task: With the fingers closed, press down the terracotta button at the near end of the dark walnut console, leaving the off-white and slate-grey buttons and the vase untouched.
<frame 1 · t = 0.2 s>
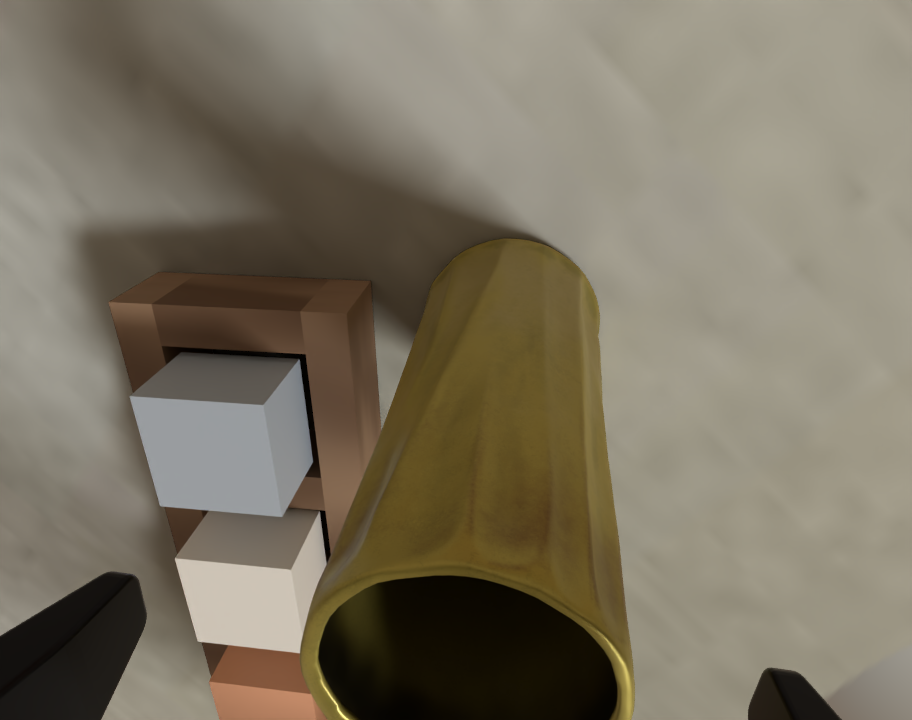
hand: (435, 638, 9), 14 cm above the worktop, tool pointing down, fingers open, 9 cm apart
vase: (511, 318, 22), on the worktop
offwhite button: (259, 575, 24), point 4 cm above the worktop, slide at 0.0 cm
console: (297, 505, 27), on the worktop
slategrey button: (230, 432, 21), point 4 cm above the worktop, slide at 0.0 cm
terracotta button: (281, 687, 27), point 4 cm above the worktop, slide at 0.0 cm
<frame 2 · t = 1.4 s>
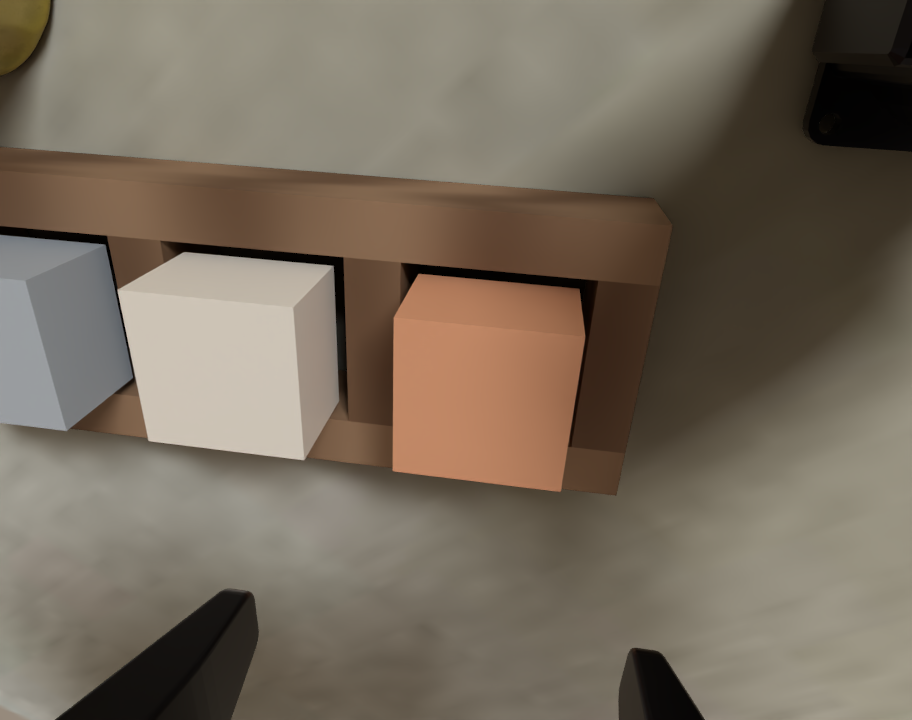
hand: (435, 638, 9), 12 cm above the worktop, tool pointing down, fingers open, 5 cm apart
offwhite button: (242, 352, 17), point 4 cm above the worktop, slide at 0.0 cm
console: (297, 297, 20), on the worktop
slategrey button: (14, 328, 17), point 4 cm above the worktop, slide at 0.0 cm
terracotta button: (487, 378, 16), point 4 cm above the worktop, slide at 0.0 cm
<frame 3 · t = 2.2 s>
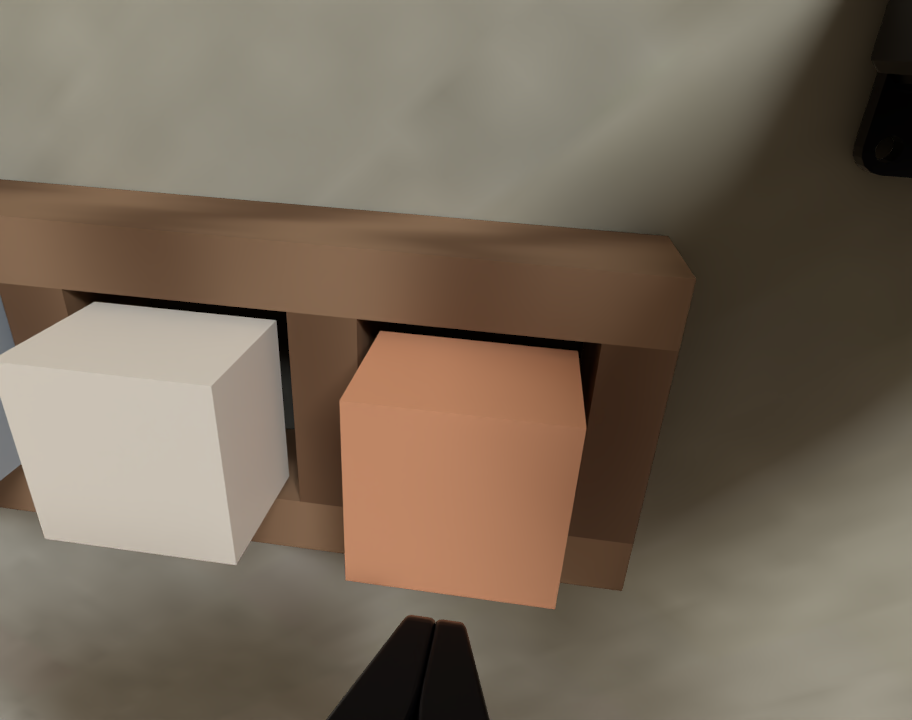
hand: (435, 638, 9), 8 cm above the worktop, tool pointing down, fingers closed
offwhite button: (162, 427, 13), point 4 cm above the worktop, slide at 0.0 cm
console: (244, 346, 17), on the worktop
terracotta button: (463, 463, 13), point 4 cm above the worktop, slide at 0.0 cm
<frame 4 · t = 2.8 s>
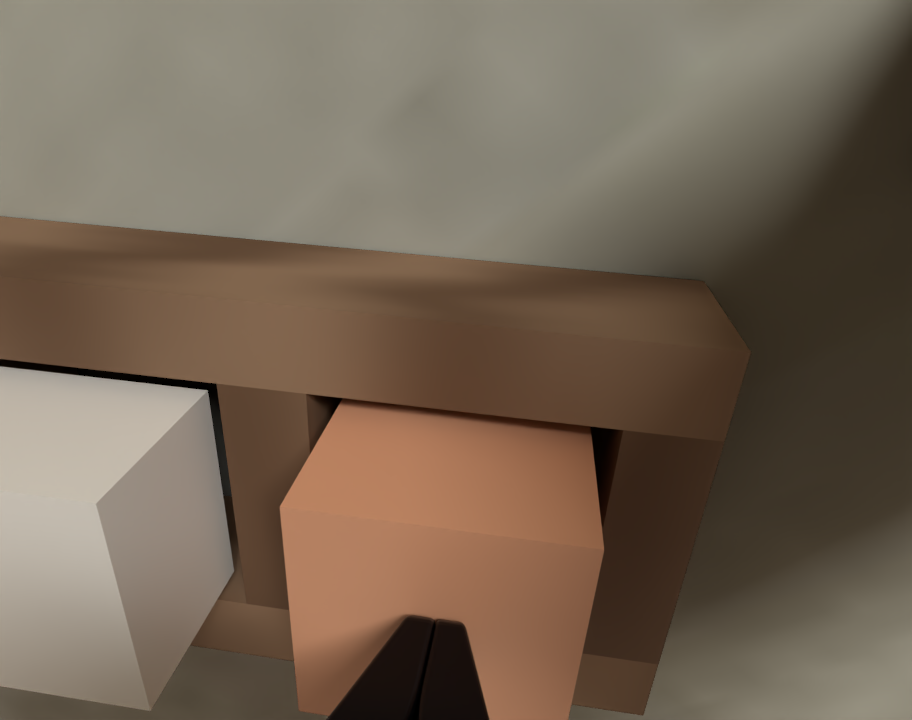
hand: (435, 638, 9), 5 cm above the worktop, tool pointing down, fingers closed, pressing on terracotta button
offwhite button: (61, 528, 11), point 4 cm above the worktop, slide at 0.0 cm
console: (186, 404, 14), on the worktop
terracotta button: (447, 563, 10), point 4 cm above the worktop, slide at 0.4 cm, touching gripper
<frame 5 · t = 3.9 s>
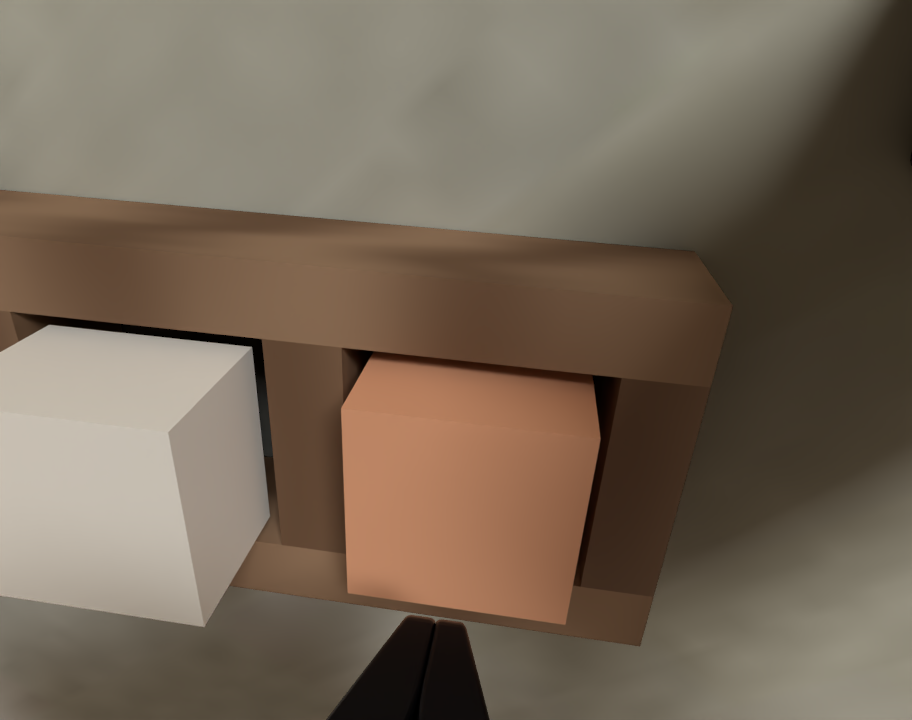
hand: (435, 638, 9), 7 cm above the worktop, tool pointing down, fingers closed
offwhite button: (123, 468, 12), point 4 cm above the worktop, slide at 0.0 cm
console: (222, 369, 16), on the worktop
terracotta button: (470, 472, 12), point 3 cm above the worktop, slide at 1.2 cm
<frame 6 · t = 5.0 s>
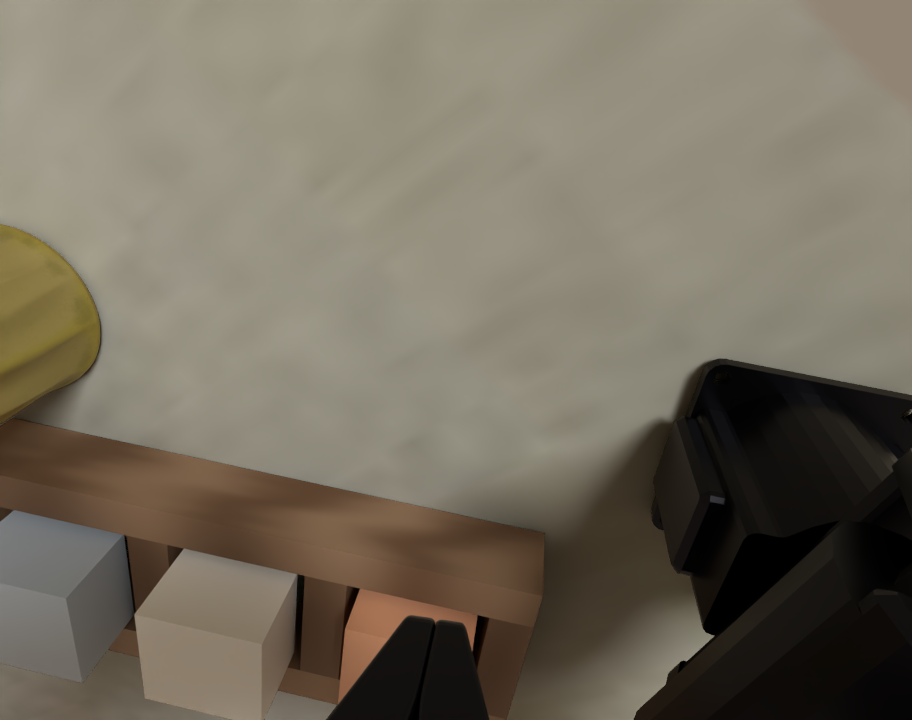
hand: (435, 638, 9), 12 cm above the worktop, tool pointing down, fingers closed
vase: (26, 304, 22), on the worktop
offwhite button: (222, 635, 22), point 4 cm above the worktop, slide at 0.0 cm
console: (269, 552, 26), on the worktop
slategrey button: (48, 594, 22), point 4 cm above the worktop, slide at 0.0 cm
terracotta button: (410, 647, 23), point 3 cm above the worktop, slide at 1.2 cm
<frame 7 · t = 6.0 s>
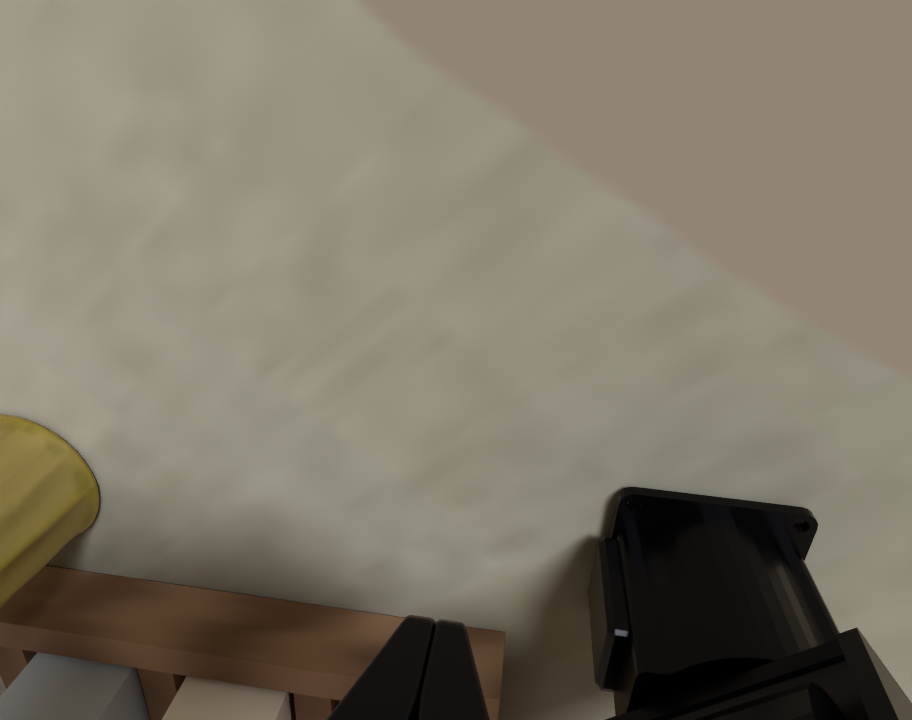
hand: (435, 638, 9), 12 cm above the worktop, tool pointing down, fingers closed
vase: (33, 472, 26), on the worktop
console: (267, 659, 29), on the worktop
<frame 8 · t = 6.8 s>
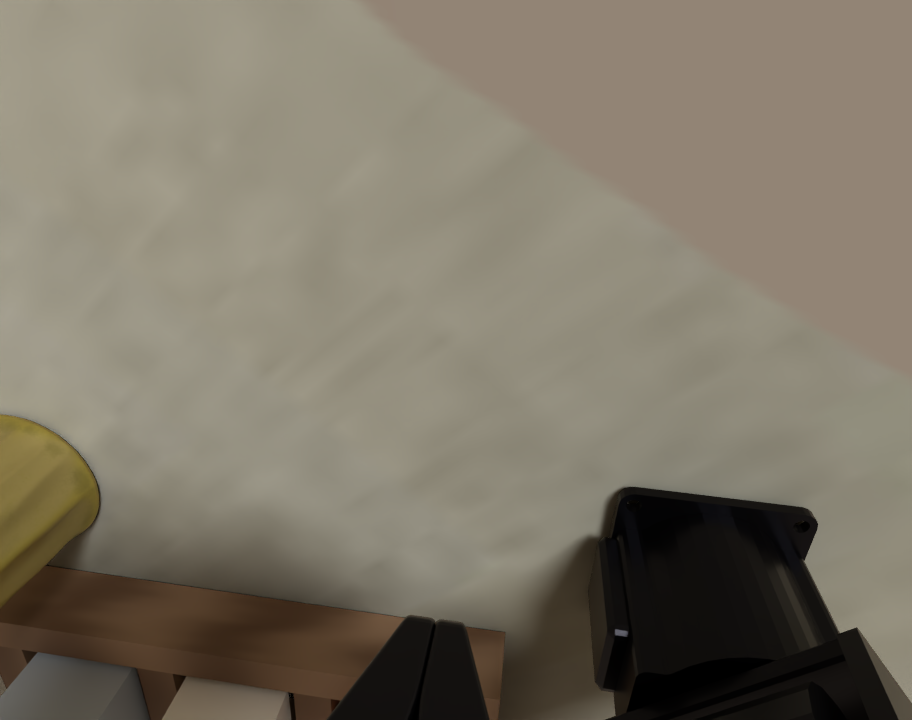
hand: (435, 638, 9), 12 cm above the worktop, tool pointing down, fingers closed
vase: (33, 473, 26), on the worktop
console: (267, 659, 29), on the worktop
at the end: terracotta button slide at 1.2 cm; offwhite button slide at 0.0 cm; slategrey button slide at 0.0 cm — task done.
